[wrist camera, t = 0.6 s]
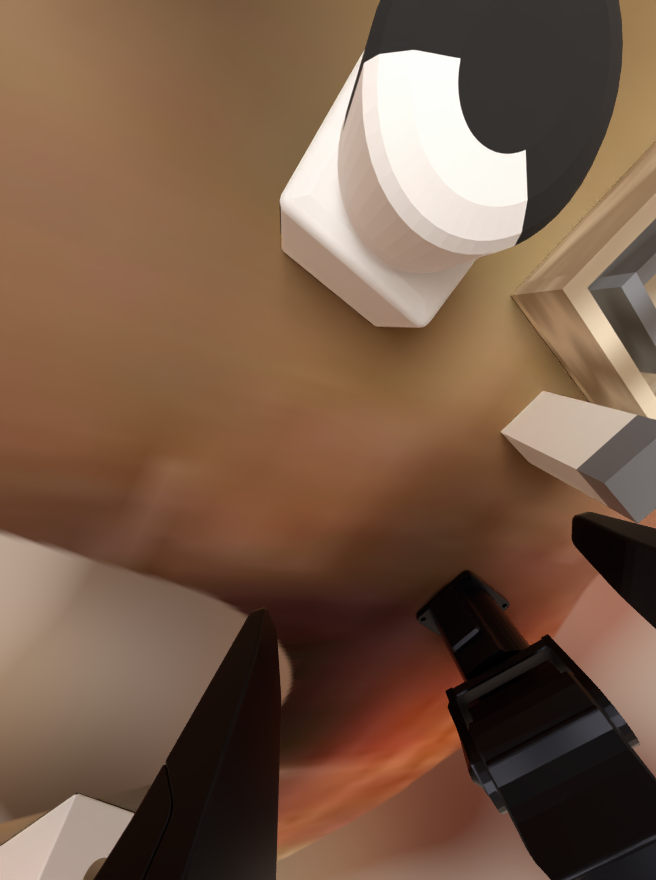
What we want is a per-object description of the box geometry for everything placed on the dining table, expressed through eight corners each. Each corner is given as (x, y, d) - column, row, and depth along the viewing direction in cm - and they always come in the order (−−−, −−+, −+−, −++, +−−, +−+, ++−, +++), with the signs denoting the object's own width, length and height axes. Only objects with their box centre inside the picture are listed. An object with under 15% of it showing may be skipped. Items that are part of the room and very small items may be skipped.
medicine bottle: (355, 117, 16) (537, -397, 4) (453, 220, 18) (739, 47, 7) (278, 248, 17) (269, 107, 6) (376, 329, 19) (505, 336, 8)
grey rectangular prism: (570, 424, 24) (701, 470, 16) (529, 462, 24) (637, 523, 17) (542, 390, 22) (672, 424, 15) (500, 431, 23) (604, 483, 16)
